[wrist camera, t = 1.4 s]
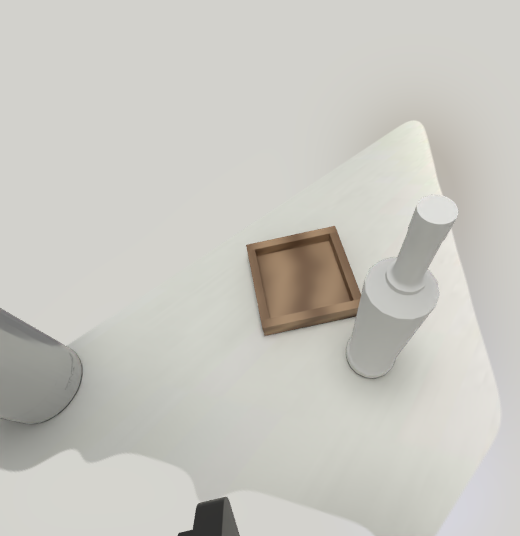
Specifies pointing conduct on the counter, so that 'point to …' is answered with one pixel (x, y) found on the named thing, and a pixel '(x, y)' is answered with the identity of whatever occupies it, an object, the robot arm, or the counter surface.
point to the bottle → (400, 291)
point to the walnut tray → (302, 280)
